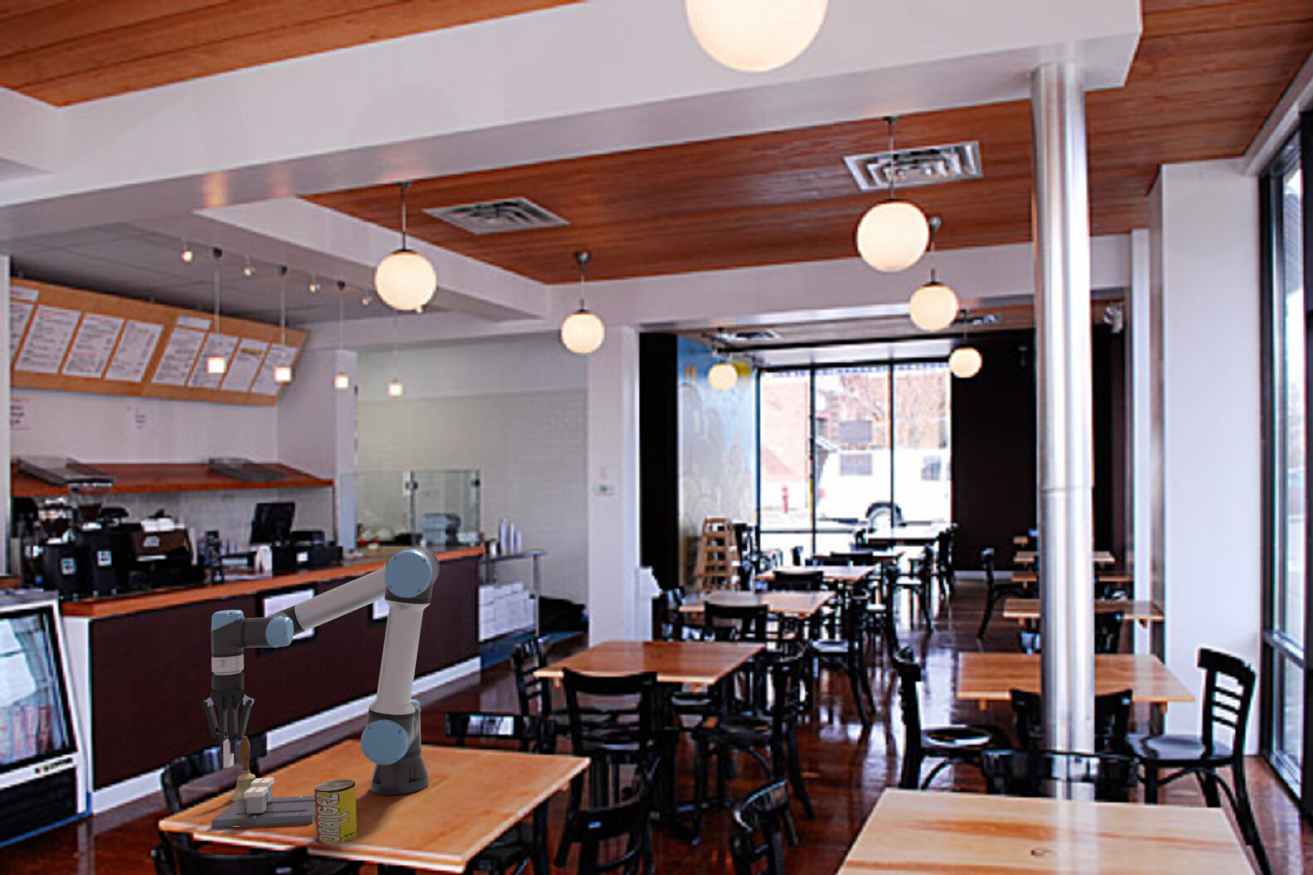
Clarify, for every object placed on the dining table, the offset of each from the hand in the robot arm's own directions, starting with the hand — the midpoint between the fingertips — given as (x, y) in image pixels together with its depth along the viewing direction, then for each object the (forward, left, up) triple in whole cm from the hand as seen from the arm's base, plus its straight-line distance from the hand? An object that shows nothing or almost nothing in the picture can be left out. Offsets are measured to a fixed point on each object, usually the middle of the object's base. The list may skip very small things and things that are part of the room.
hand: (228, 766), depth 256 cm
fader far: (-8, 0, -9) cm, 12 cm away
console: (-12, +4, -12) cm, 17 cm away
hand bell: (+1, -13, -12) cm, 18 cm away
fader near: (-10, +8, -9) cm, 16 cm away
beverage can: (-33, +23, -12) cm, 42 cm away
